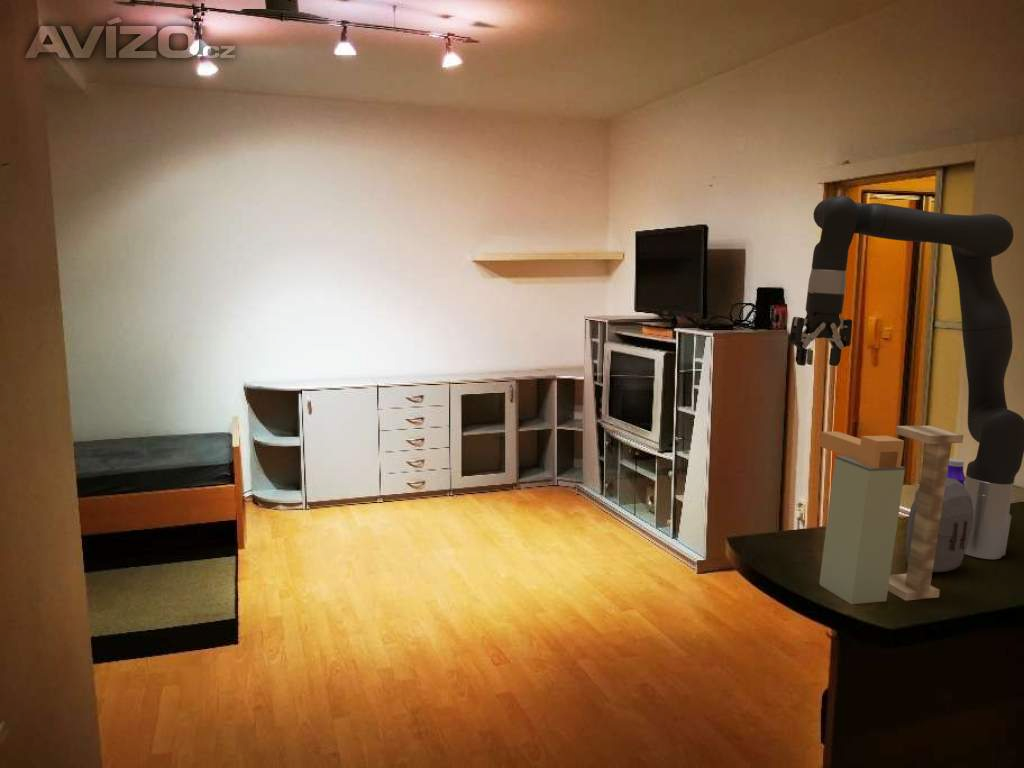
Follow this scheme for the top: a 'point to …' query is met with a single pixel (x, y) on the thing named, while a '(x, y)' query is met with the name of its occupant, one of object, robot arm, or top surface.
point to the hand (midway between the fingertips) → (817, 365)
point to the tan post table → (925, 512)
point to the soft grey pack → (948, 526)
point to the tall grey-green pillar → (861, 530)
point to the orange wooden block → (866, 448)
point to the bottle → (956, 470)
